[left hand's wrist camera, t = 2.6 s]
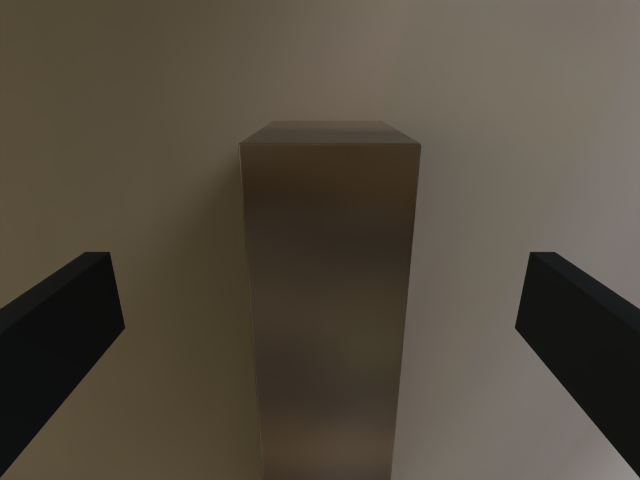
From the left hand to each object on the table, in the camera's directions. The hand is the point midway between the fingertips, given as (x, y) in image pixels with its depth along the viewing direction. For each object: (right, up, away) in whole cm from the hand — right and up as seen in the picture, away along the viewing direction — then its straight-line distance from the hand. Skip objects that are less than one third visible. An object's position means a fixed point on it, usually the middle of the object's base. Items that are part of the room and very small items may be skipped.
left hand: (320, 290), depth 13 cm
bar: (0, -5, +13) cm, 14 cm away
